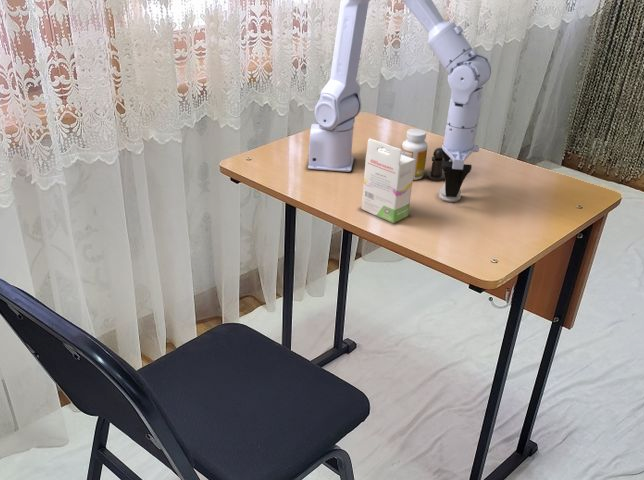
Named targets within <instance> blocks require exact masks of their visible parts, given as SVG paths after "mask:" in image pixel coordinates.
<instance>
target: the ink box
mask: <svg viewBox="0 0 644 480" xmlns="http://www.w3.org/2000/svg"><path fill="white" fill-rule="evenodd" d="M366 146H367V147H366V154H365V162H364V163H365V164H364V174H363V175H364V176H363V184H362V185H363V186H362V200H361V210H363V211H365V212H367V213H369V214H371V215H373V216H376V217H378V218H381V219H383V220H385V221H388V222H390V223H392V224H395V223H397V222H398V221H400V220H403V219H404V218H406V217H408V216H409V213H410V204H411V197H412V189H413V181H414V180H413V173H414V165H415V159H413V158H410V157H407V156H404V155H401V150H402V148H398V147H395V146H392V145H391V144H388V143H385V142H381V141H379V140H376V139H373V138H370V137H369V138H368V140H367V145H366Z"/></svg>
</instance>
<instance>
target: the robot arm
mask: <svg viewBox="0 0 644 480" xmlns="http://www.w3.org/2000/svg"><path fill="white" fill-rule="evenodd" d="M370 1H371V0H340V3H339V11H338V19H337V26H336V31H335V32H336V33H335V40H334V45H333V46H334V47H333V54H332V61H331V68H330V69H331V70H330V77H329V80H328V81H327V83H326V84H325V85H324V87H323V88H322V90H321V91H320V94H319V99H318V101H317V103H316V104H315V107H314V113H313V115H314V118H315V121H316V123H311V127H310V132H309V145H308V155H307V156H308V165H307V169H309V170H317V171H318V170H320V171H330V172H345V173H350V172H352V169H353V163H354V160H355V156H353V155H352V153H353V142H354V141H353V140H354V139H353V138H354V128H355V127H354V126H355V121H356V117H358V116H359V114H360V113H361V111H362V100H361V86H360V85H359V83H358V82H357V79H358V78H357V77H358V72H359V71H358V70H359V64H360V58H361V53H362V46H363V40H364V34H365V27H366V21H367V15H368V9H369V3H370ZM401 2H403V3H404V4H405V6H406V7H407V8H408V10H409V11H410V13H412V15H413V16H414V18H416V20H417V21H418V22H419V23H420V25H421V26H422V28H424V30H425V31H426V32H427V33H428V36H427V37H428V38H427V45H428V46H429V48H430V49H431V51H432V52H433V54H434V55H435V57H436V58H437V60H438V61H439V62H440V64H441V65H442V67H443V68H444V69H445V71H446V72H447V73H448V75H447V84H448V86H449V88H450V92H451V93H450V100H449V105H448V112H447V118H446V125H445V131H444V137H443V143H442V145H441V148H442V153H443V156H444V161H442V168H443V171H442V172H443V173H444V174H445V179H444V183H445V192H446V196H447V197H457V195H458V193H459V190H461V188H462V185H463V183H464V180H465V179H466V177H467V176H468V175H469V173H471V171H472V168H473V167H472V164H468V163H467V164H465V161H466V160H467V159H468V158H469V157H470V155H472V153H478V152H479V151H480V146H479V144H474V143H475V138H476V133H477V128H478V127H477V126H478V122H479V116H480V111H481V106H482V105H481V104H482V98H483V93H484V85H486V84H487V82H488V81H489V80H490V78H491V75H492V66H491V64H490V62H489V59H488V57H487V56H485V55H483V54H481V53H478V51H477V49H475V48H474V49H473V47H472V46H471V44H470V42H469V41H468V40H467V39H466V37H465V36H464V35H463V34H462V33H463V32H464V29H463V27H462V26H461V25H460V24H459V25H456V23H455V22H453V21H447V20H445V19H444V18H443V15H442V14H441V13H440V11H439V9H438V8H437V6H436V4H435V2H434V1H433V0H401ZM450 159H452V162H450V161H449V160H450Z"/></svg>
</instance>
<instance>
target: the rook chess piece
mask: <svg viewBox="0 0 644 480" xmlns="http://www.w3.org/2000/svg"><path fill="white" fill-rule="evenodd" d="M449 161H450V162H452V159H450V160H449ZM461 194H462V190H461V189H460V190H459V193H458V195H457V197H447V196H446V192H445V182H444V183H443V185H442V186H441V188H439V194H438V197H439V199H440V200H441V201H443V202H446V203H456V202H459V200H460V199H461V198H462V197H461Z"/></svg>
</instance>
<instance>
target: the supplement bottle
mask: <svg viewBox="0 0 644 480" xmlns="http://www.w3.org/2000/svg"><path fill="white" fill-rule="evenodd" d="M405 137H406V139H405V140H403V142H402V143H401V155H404V156H407V157H410V158H413V159H415V165H414V173H413V181H416V180H420V179H422V178H424V176H425V169H426V163H427V155H428V147H429V145H428V142H427V141H426V139H427V131H426V130H424V129H421V128H410V129H407V131H406V135H405Z"/></svg>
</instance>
